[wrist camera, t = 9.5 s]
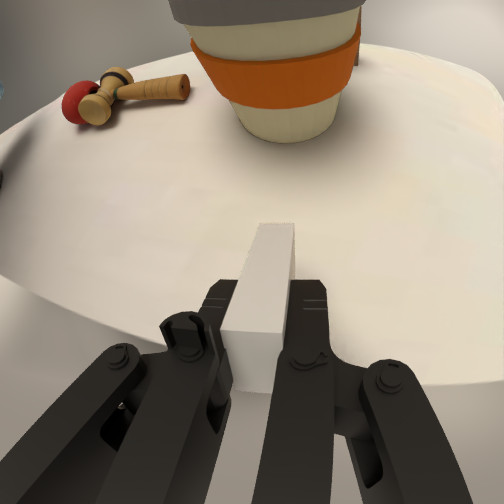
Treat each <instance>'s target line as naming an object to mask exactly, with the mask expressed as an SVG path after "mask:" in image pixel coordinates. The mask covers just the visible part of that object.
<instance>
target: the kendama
mask: <svg viewBox="0 0 504 504" xmlns="http://www.w3.org/2000/svg"><path fill="white" fill-rule="evenodd" d="M189 91H190V81H189V78H188V76H187V75H186V74H181V75H175V76H169V77H164V78H157V79H151V80H145V81H141V82H136V83H134V80H133V77H132V75H131V74H130V73H129V72H128V71H127V70H125V69H123V68H120V67H112V68H110V69H108V70H107V71H106V72H105V73H104V74H103V75H102V77H101V79H100V86H99V85H98V84H96V83H94V82H92V81H81V82H78V83H76V84H74V85H73V86H71V87H70V88H69V89H68V90H67V92H66V93H65V95H64V97H63V100H62V112H63V115H64V116H65V118H66V119H67V120H68V121H70V122H71V123H74V124H84V123H87V122H88V123H90V124H93V125H102V124H104V123H105V122H106V121H107V120H108V119H109V117H110V115H111V108H110V105H112V104H113V100H114V99H125V100H144V99H178V100H185V99H186V98H187V97H188V94H189Z"/></svg>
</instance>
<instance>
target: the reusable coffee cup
mask: <svg viewBox="0 0 504 504" xmlns="http://www.w3.org/2000/svg"><path fill="white" fill-rule="evenodd" d="M168 1H169V4H170V7H171V10H172V14H173V17H174V19H175V20H176V21H177V22H179V23H181V24H184V26H185V28H186V29H187V31H188V32H189V34H190V35H191V37H192V38H191V47H192V50H193V52H194V53H195V55H196V56H197V58H198V60H199V61H200V63H201V64H202V66H203V68H204V69H205V71H206V72H207V74H208V76H209V77H210V79H211V81H212V82H213V84H214V86H215V87H216V89H217V90H218V91H219V92H220V93H221V95H222V96H224V97H225V98H227V99H229V101H230V103H231V104H232V106H233V108H234V110H235V111H236V113H237V115H238V117H239V119H240V121H241V122H242V124H243V126H244V127H245V128H246V129H247V131H249V132H250V133H251V134H253V135H254V136H256V137H258V138H260V139H263V140H266V141H270V142H276V143H295V142H302V141H305V140H308V139H312V138H314V137H316V136H318V135H320V134H321V133H323V132H324V131H325V130H327V129H328V127H329V126H330V125H331V124H332V122H333V120H334V118H335V114H336V110H337V106H338V102H339V99H340V95H341V91H342V89H343V88H344V87H345V86H346V85H347V83H348V81H349V79H350V77H351V73H352V69H353V65H354V61H355V57H356V53H357V49H358V44H359V40H360V36H361V27H360V25H359V23H358V22H357V19H358V14H359V9H360V6H361V5H363V4H364V2H365V1H366V0H168Z"/></svg>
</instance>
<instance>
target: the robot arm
mask: <svg viewBox="0 0 504 504" xmlns="http://www.w3.org/2000/svg"><path fill="white" fill-rule="evenodd" d="M2 95H3V85H2V83H1V81H0V99H1V97H2ZM1 182H2V171H1V170H0V186H1ZM159 327H160V330H161V332H162V335H163V337H164V340H165V342H166V344H167V347H168V350H167V351H166V352H161V353H153V354H143V355H140V353H139V351H138V349H137V348H136V347H135V346H133V345H131V344H128V343H121V344H116V345H114V346H111V347H109V348H108V349H107V350H105V351H104V352H103V353H102V354H101V355H100V356H99V357H98V358H97V359H96V360H95V361H94V362H93V363H92V364H91V365H90V366H89V367H88V368H87V369H86V370H85V371H84V372H83V373H82V374H81V375H80V376H79V377H78V378H77V379H76V380H75V381H74V382H73V383H72V384H71V385H70V386H69V387H68V388H67V389H66V390H65V391H64V392H63V393H62V395H61V396H60V397H59V398H58V399H57V400H56V401H55V402H54V403H53V404H52V405H51V406H50V407H49V408H48V409H47V410H46V411H45V413H44V414H43V415H42V416H41V417H40V418H39V419H38V420H37V421H36V422H35V423H34V425H32V426H31V428H30V429H29V430H28V431H27V432H26V433H25V434H24V435H23V436H22V437H21V439H20V440H19V441H18V442H17V443H16V444H15V445H14V447H13V448H12V449H11V450H10V451H9V452H8V453H7V454H6V456H5V457H4V458H3V459H2V460H1V461H0V504H204V502H205V499H206V496H207V492H208V489H209V485H210V482H211V478H212V474H213V471H214V467H215V464H216V460H217V457H218V453H219V449H220V446H221V442H222V438H223V435H224V430H225V427H226V423H227V419H228V416H229V412H230V408H231V397H230V391H231V387H232V383H233V384H234V388H235V390H236V391H245V392H254V393H268V394H272V398H271V404H270V410H269V416H268V421H267V428H266V433H265V438H264V444H263V449H262V454H261V460H260V465H259V470H258V475H257V479H256V484H255V489H254V494H253V498H252V503H251V504H330V496H331V484H332V468H333V467H332V466H333V445H334V434H339V435H342V436H345V439H346V442H347V446H348V449H349V453H350V456H351V460H352V463H353V467H354V471H355V474H356V478H357V482H358V486H359V489H360V493H361V497H362V501H363V504H473V502H472V499H471V496H470V494H469V491H468V488H467V485H466V483H465V480H464V477H463V475H462V472H461V470H460V468H459V465H458V463H457V460H456V458H455V455H454V453H453V451H452V449H451V446H450V444H449V442H448V440H447V437H446V436H445V433H444V431H443V429H442V427H441V425H440V423H439V420H438V419H437V416H436V414H435V412H434V410H433V408H432V407H431V405H430V402H429V400H428V398H427V397H426V395H425V393H424V391H423V389H422V387H421V385H420V383H419V381H418V380H417V378H416V376H415V374H414V372H413V371H412V370H411V369H410V368H409V367H408V366H407V365H406V364H404V363H402V362H400V361H397V360H392V359H386V360H379V361H377V362H375V363H373V364H371V365H370V366H369V367H368V368H363V367H359V366H355V365H351V364H348V363H346V362H344V361H342V360H341V359H339V358H338V357H337V356H336V355H335V354H334V353H333V351H332V349H331V347H330V340H329V322H328V307H327V294H326V288H325V287H324V285H323V284H322V283H321V281H320V280H295V240H294V223H260V224H259V227H258V229H257V232H256V235H255V237H254V240H253V243H252V245H251V248H250V250H249V253H248V256H247V258H246V261H245V264H244V266H243V269H242V272H241V275H240V277H239V280H223V279H220V280H219V281H218V282H216V283H215V284H214V285H213V286H212V287H210V289H209V291H208V293H207V295H206V299H205V300H204V302H203V304H202V307H201V308H200V310H199V312H198V313H197V312H193V311H189V312H180V313H177V314H174V315H172V316H170V317H168V318H167V319H165V320H164V321H163V322H162V323H161V324H160V326H159ZM121 403H123V404H122V405H120V404H121ZM119 405H120V406H119Z"/></svg>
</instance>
